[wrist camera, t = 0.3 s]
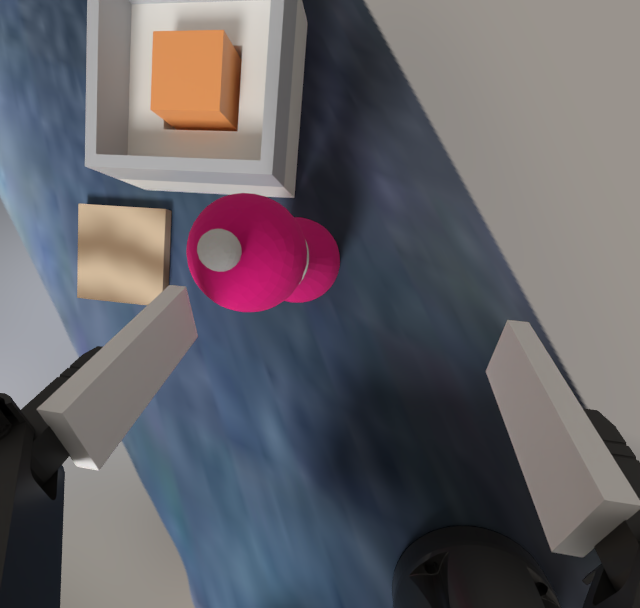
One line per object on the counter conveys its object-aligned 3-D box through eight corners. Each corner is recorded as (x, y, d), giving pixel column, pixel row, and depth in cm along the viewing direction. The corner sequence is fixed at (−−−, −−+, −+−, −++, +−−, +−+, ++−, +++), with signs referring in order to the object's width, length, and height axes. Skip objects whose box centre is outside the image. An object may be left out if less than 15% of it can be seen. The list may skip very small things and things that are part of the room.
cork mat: (167, 305, 35) (161, 306, 34) (85, 297, 36) (77, 297, 36) (171, 210, 34) (165, 209, 33) (86, 205, 36) (78, 203, 35)
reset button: (241, 135, 30) (219, 110, 26) (181, 133, 31) (150, 109, 27) (245, 66, 30) (223, 29, 25) (184, 66, 31) (153, 31, 26)
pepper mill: (305, 313, 33) (209, 375, 13) (258, 260, 33) (93, 245, 14) (359, 263, 32) (339, 253, 12) (309, 209, 32) (210, 110, 12)
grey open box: (294, 198, 32) (272, 174, 25) (146, 189, 34) (84, 166, 27) (307, 23, 31) (288, -58, 23) (151, 26, 33) (88, -46, 25)
